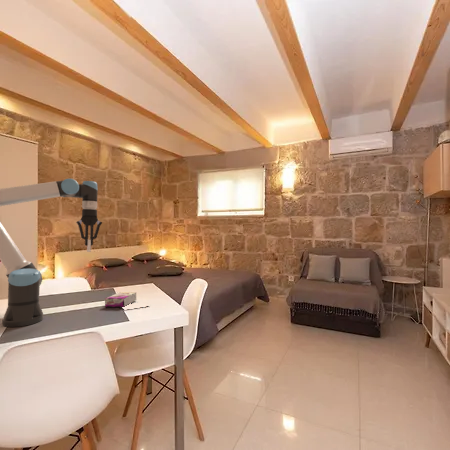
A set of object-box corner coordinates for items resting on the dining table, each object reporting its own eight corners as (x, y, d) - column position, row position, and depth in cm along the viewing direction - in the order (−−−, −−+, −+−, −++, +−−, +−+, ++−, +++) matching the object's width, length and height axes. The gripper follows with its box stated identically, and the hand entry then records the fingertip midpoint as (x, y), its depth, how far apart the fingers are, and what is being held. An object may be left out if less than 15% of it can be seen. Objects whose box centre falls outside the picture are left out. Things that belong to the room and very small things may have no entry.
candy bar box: (104, 297, 149) (118, 292, 166) (104, 307, 149) (118, 300, 165) (124, 297, 148) (136, 292, 165) (124, 307, 148) (136, 300, 164)
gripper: (77, 208, 145) (76, 252, 145) (103, 209, 153) (102, 251, 152) (75, 208, 152) (74, 251, 151) (101, 210, 159) (100, 250, 158)
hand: (88, 251), depth 152 cm, fingers closed
